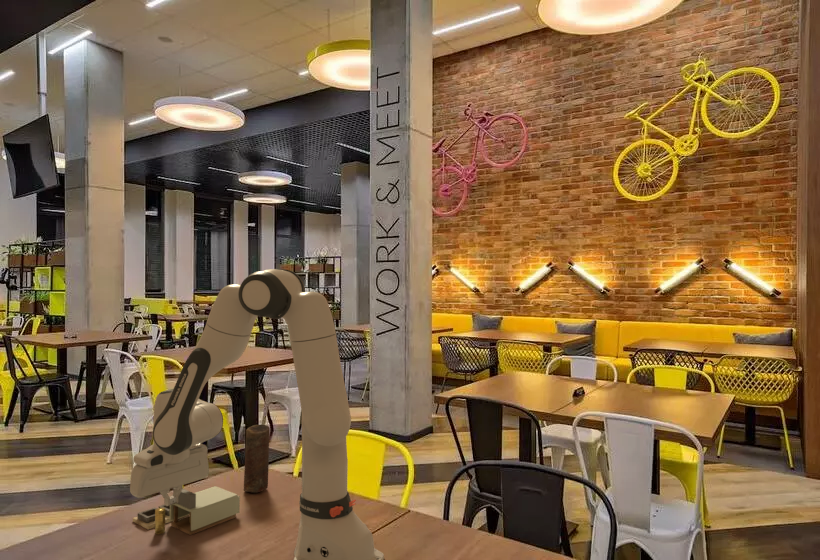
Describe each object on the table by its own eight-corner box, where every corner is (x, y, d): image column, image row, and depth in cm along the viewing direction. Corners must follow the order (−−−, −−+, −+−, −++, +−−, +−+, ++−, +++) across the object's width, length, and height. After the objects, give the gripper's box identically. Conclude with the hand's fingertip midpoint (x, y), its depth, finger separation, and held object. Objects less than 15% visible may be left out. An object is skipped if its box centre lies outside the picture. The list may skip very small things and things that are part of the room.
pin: (166, 532, 149) (167, 509, 149) (158, 535, 147) (158, 512, 147) (161, 529, 150) (162, 507, 150) (153, 532, 148) (153, 509, 148)
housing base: (235, 517, 158) (236, 497, 158) (190, 535, 147) (190, 513, 147) (216, 509, 164) (216, 489, 164) (171, 525, 153) (171, 504, 153)
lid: (239, 512, 158) (239, 481, 158) (192, 530, 147) (192, 497, 147) (216, 503, 165) (217, 473, 165) (169, 520, 153) (169, 487, 153)
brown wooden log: (273, 488, 181) (273, 425, 180) (260, 496, 174) (261, 431, 174) (252, 485, 183) (252, 423, 183) (238, 493, 176) (239, 429, 176)
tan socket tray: (189, 514, 160) (189, 505, 160) (148, 529, 150) (148, 520, 150) (173, 507, 165) (173, 499, 165) (132, 521, 155) (132, 512, 155)
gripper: (200, 439, 158) (199, 489, 158) (127, 458, 141) (126, 513, 141) (214, 443, 154) (213, 494, 154) (140, 463, 138) (139, 520, 138)
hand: (171, 504), depth 148 cm, fingers closed
